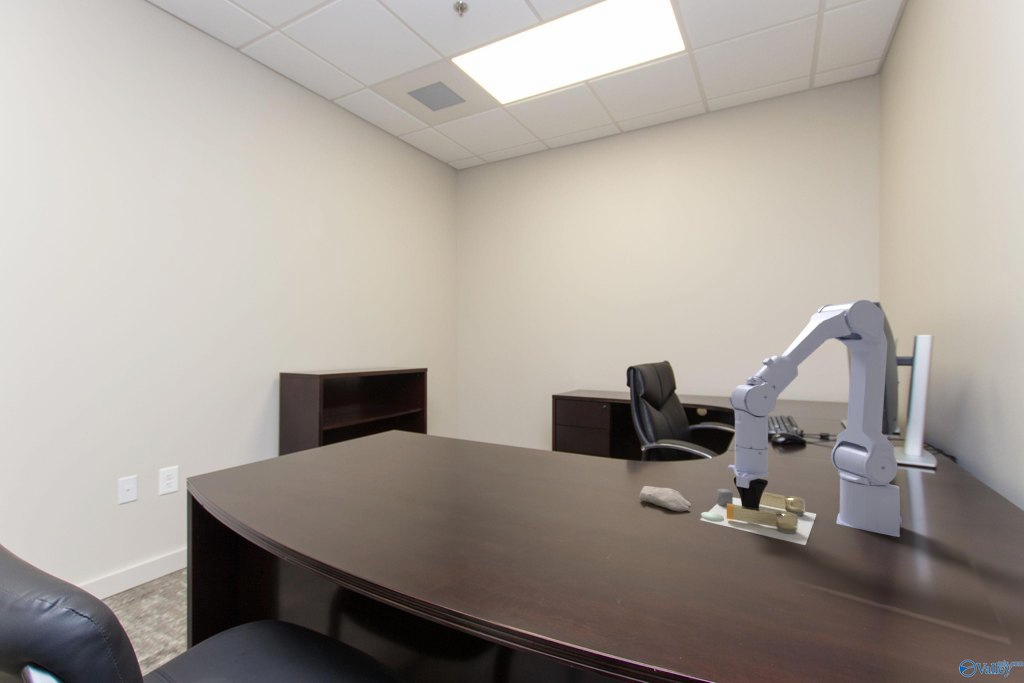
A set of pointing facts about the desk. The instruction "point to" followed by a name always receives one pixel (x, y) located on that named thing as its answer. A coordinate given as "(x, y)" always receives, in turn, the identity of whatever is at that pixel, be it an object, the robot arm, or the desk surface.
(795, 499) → the far capped tube
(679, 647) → the desk surface
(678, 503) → the decorative stone
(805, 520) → the levelling base
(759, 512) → the translucent tan bar
